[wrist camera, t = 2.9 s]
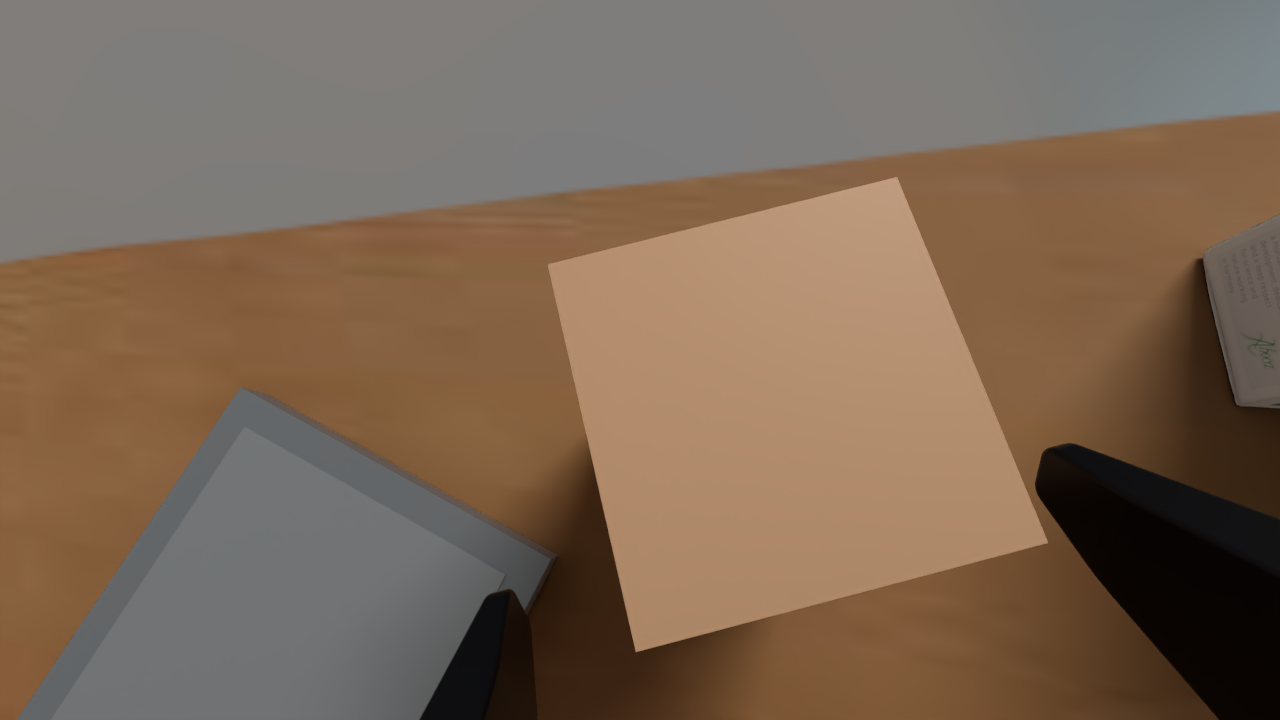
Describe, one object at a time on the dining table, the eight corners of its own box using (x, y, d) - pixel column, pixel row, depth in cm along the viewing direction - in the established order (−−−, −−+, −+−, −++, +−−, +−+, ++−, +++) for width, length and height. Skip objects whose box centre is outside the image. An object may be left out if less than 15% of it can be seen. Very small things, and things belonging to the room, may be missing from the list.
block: (802, 514, 18) (1048, 542, 7) (653, 553, 18) (635, 651, 6) (757, 369, 19) (897, 177, 8) (617, 405, 19) (547, 264, 8)
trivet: (354, 952, 16) (328, 991, 15) (43, 730, 18) (-5, 747, 16) (558, 555, 18) (550, 559, 17) (265, 393, 20) (238, 386, 19)
